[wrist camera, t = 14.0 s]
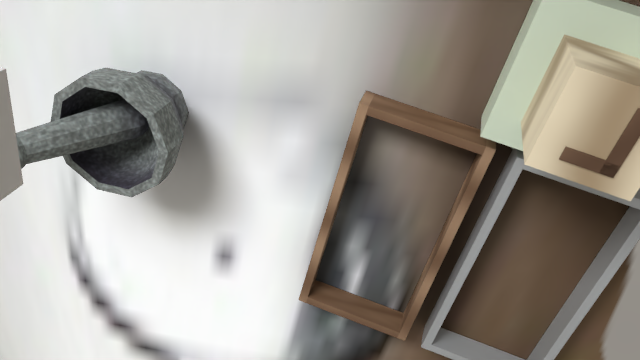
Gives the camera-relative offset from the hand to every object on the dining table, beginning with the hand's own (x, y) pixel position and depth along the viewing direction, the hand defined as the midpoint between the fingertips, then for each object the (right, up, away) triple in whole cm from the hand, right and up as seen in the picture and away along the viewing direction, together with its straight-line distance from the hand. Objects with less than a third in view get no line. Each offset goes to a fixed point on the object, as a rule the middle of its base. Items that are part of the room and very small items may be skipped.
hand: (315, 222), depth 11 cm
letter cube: (+17, +6, +24) cm, 30 cm away
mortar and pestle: (-14, +7, +38) cm, 41 cm away
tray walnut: (+6, -2, +36) cm, 37 cm away
